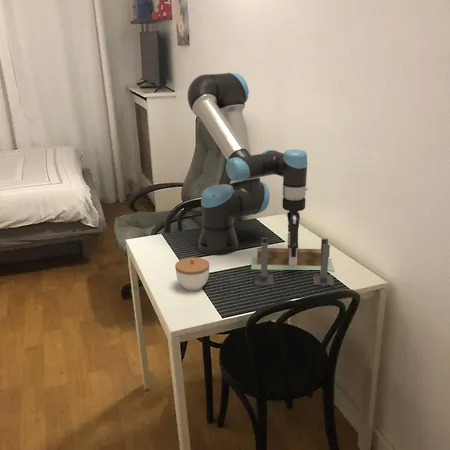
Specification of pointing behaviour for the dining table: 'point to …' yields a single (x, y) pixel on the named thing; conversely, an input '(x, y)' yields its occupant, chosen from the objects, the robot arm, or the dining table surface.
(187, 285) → the lidded jar
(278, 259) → the walnut bar
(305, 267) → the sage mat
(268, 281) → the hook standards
